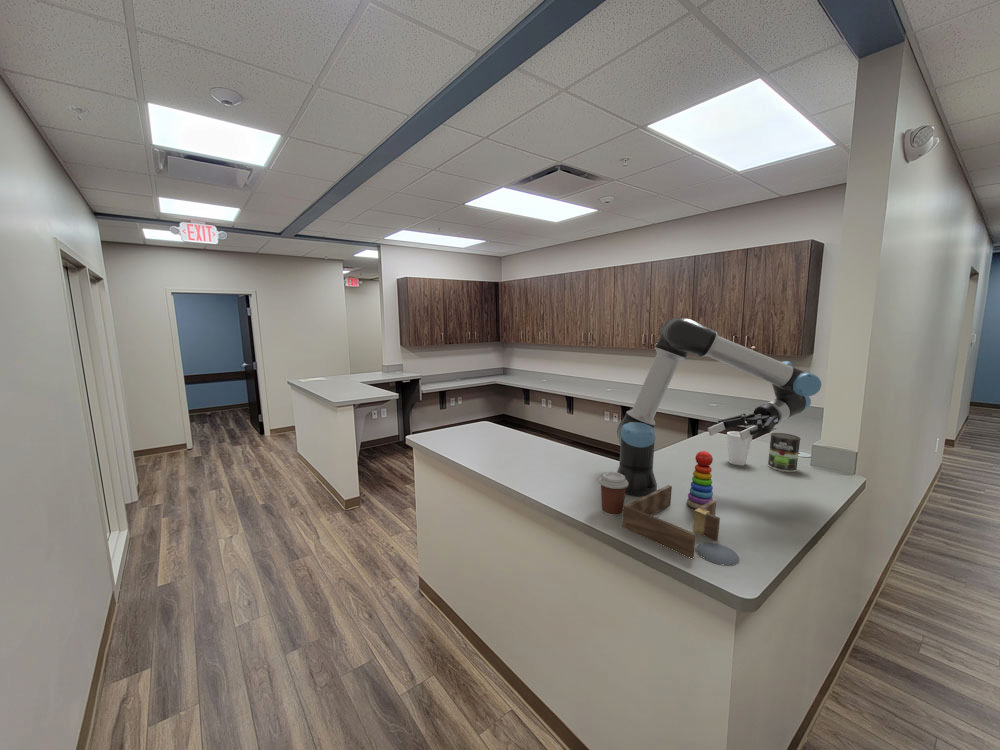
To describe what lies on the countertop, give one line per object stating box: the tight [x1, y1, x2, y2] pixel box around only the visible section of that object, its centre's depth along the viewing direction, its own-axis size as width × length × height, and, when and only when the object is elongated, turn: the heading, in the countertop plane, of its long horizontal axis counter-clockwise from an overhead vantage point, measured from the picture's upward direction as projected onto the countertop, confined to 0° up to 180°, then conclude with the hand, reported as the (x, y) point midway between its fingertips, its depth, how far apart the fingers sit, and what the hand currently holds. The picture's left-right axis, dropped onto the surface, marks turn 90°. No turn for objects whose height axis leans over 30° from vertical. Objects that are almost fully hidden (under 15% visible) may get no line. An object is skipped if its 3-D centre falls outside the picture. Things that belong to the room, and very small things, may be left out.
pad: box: [695, 541, 740, 566], centre depth 104 cm, size 10×10×1 cm
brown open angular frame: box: [621, 484, 721, 559], centre depth 118 cm, size 26×21×6 cm
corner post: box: [692, 508, 710, 537], centre depth 115 cm, size 3×3×6 cm
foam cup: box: [726, 431, 753, 466], centre depth 175 cm, size 10×9×13 cm
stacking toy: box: [686, 450, 714, 510], centre depth 131 cm, size 8×8×19 cm
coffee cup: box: [598, 471, 629, 517], centre depth 127 cm, size 9×9×12 cm
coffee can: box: [767, 432, 802, 473], centre depth 169 cm, size 10×10×14 cm
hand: (724, 434), depth 136 cm, fingers open, 13 cm apart
